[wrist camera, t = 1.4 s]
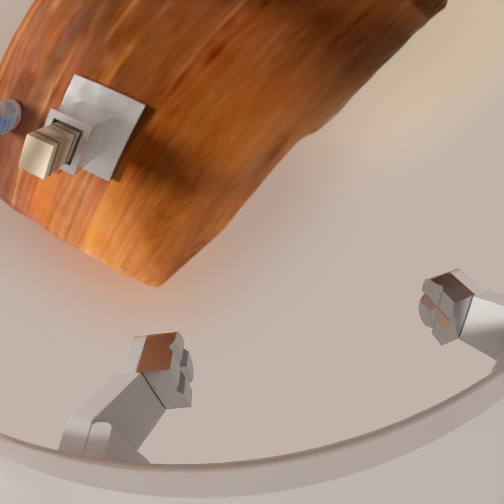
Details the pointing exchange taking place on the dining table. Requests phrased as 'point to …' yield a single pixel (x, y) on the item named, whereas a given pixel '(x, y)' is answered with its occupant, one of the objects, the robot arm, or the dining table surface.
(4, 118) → the pill bottle
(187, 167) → the dining table surface
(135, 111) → the sleeve
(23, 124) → the dining table surface
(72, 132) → the post
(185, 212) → the dining table surface
